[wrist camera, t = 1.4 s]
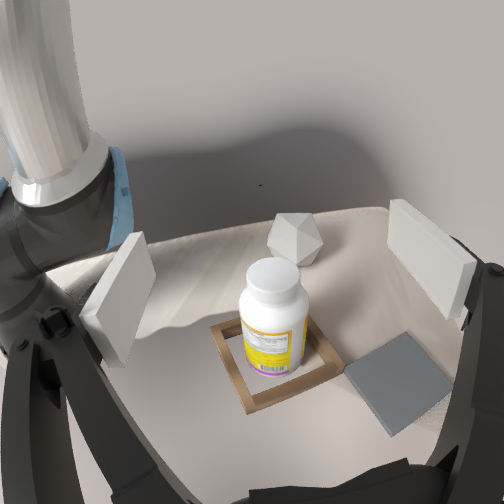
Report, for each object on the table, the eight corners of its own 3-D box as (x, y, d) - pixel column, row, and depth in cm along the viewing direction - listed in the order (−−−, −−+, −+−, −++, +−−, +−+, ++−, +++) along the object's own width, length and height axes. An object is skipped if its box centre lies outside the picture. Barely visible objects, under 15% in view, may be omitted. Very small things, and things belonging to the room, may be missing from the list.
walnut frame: (212, 336, 36) (210, 326, 35) (295, 308, 39) (295, 297, 38) (246, 414, 28) (245, 407, 26) (342, 373, 31) (345, 364, 30)
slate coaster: (342, 370, 31) (344, 367, 30) (404, 335, 34) (406, 332, 33) (391, 437, 23) (393, 435, 23) (451, 389, 26) (454, 386, 26)
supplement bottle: (279, 325, 37) (279, 241, 30) (314, 358, 33) (328, 275, 25) (234, 352, 34) (220, 269, 27) (268, 391, 30) (266, 313, 22)
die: (319, 247, 51) (289, 200, 49) (342, 252, 43) (309, 196, 41) (281, 276, 50) (249, 228, 48) (299, 286, 42) (261, 229, 40)
